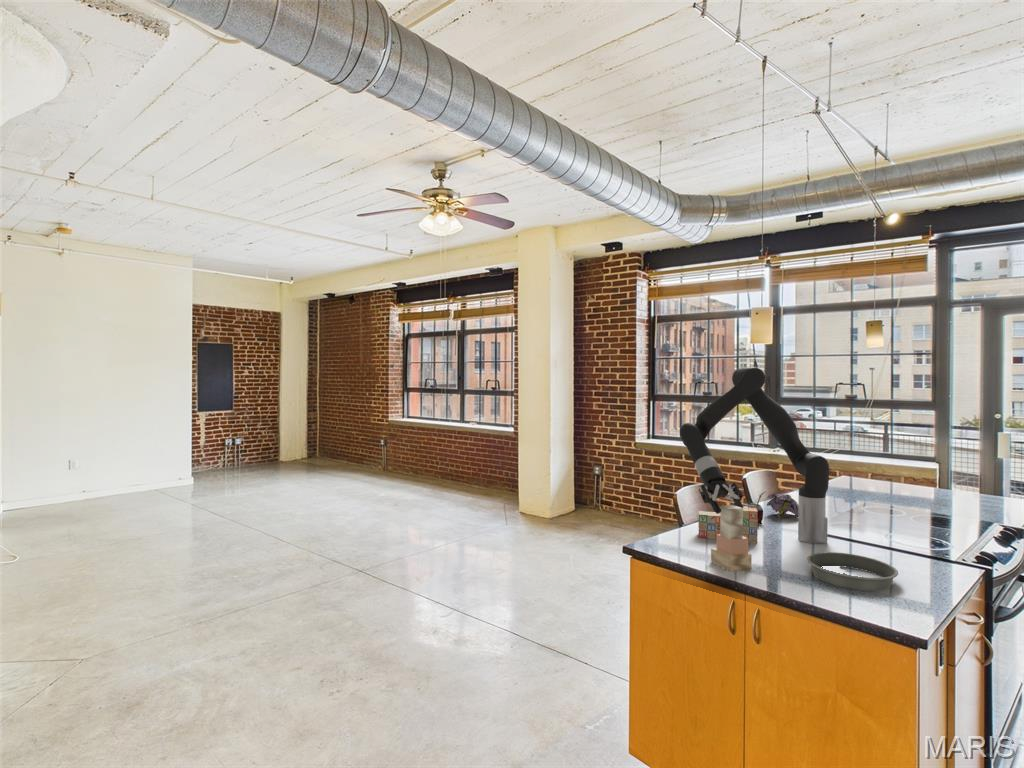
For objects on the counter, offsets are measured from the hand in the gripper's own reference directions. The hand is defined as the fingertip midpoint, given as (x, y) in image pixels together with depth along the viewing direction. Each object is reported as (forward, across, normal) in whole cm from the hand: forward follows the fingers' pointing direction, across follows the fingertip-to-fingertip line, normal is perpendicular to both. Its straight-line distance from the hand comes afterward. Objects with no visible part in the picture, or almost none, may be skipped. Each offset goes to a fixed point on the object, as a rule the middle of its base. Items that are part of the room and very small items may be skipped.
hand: (730, 511), depth 188 cm
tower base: (+13, 0, +13) cm, 18 cm away
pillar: (+6, 0, +6) cm, 8 cm away
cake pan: (+27, +29, -1) cm, 40 cm away
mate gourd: (-16, +44, +42) cm, 63 cm away
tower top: (+10, +1, +9) cm, 13 cm away
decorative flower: (-21, +65, +47) cm, 83 cm away
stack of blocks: (-6, +19, +32) cm, 38 cm away
